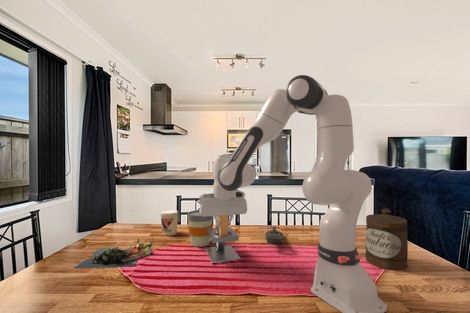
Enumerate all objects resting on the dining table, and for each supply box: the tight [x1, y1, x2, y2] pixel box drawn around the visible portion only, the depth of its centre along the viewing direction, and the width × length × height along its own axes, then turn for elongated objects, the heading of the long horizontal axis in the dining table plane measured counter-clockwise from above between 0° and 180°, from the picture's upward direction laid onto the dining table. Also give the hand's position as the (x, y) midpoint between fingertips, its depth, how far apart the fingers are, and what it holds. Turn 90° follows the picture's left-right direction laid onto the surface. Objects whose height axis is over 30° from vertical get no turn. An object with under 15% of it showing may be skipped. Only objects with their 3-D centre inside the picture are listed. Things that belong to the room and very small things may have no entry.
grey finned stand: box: [204, 216, 242, 264], centre depth 112 cm, size 16×12×16 cm
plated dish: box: [74, 238, 154, 269], centre depth 111 cm, size 35×28×7 cm
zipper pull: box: [265, 225, 284, 246], centre depth 128 cm, size 9×7×25 cm
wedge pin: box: [219, 215, 229, 236], centre depth 110 cm, size 3×3×10 cm
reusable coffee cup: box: [187, 209, 214, 247], centre depth 127 cm, size 12×13×15 cm
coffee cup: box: [160, 209, 179, 237], centre depth 142 cm, size 9×9×12 cm
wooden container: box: [365, 207, 409, 271], centre depth 106 cm, size 15×15×22 cm
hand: (223, 225), depth 110 cm, fingers closed on wedge pin, 3 cm apart
